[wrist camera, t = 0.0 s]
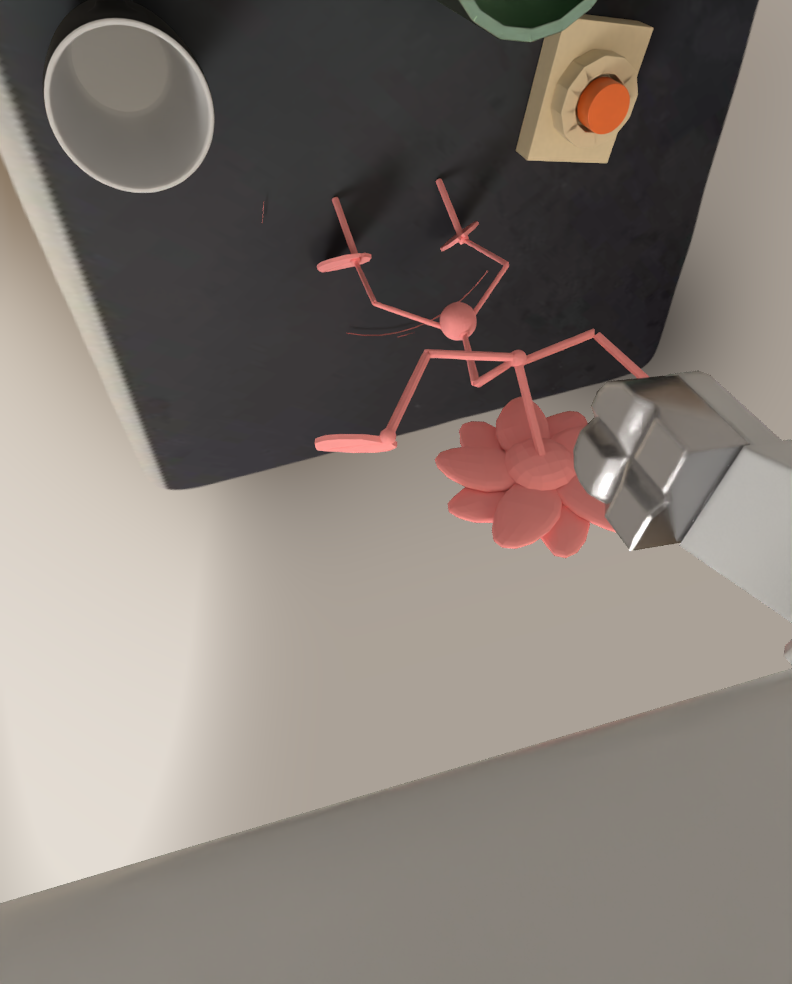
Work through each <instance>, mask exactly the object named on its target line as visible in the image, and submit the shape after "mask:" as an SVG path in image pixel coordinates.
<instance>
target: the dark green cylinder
mask: <svg viewBox="0 0 792 984" xmlns="http://www.w3.org/2000/svg"><path fill="white" fill-rule="evenodd" d="M436 1H438V2H440V3H441V4H443V5H444V6H446V7H448V8H449V9H451V10H453V11H454V12H456V13H457V14H459V15H461V16H462V17H464V18H465V19H467V20H469V21H470V22H472V23H474V24H475V25H477V26H478V27H480V28H482V29H483V30H485V31H487V32H488V33H490V34H491V35H493V36H495V37H496V38H498V39H500V40H509V41H519V42H533V41H536V40H539V39H542V38H545V37H548V36H551V35H554V34H557V33H559V32H562V31H564V30H565V29H566V28H567V27H569V26H570V25H571V24H572V23H574V22H575V21H576V20H577V19H579V18H580V17H581V16H582V15H584V14H585V13H586V12H587V11H589V10H590V9H591V8H592V7H593V6H594V4H595V3H596V1H597V0H436Z"/></svg>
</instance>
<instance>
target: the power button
mask: <svg viewBox="0 0 792 984" xmlns="http://www.w3.org/2000/svg"><path fill="white" fill-rule="evenodd" d="M629 105H630V96H629V92H628V90H627V88H626V87H625V86H624V85H622V84H620V83H619V82H617V81H615V80H613V79H612V78H609V77H600V78H597V79H595V80H594V81H592V82H591V83H590V84H589V85H588V86H587V87H586V88H585V89H584V91H583V92H582V94H581V96H580V98H579V101H578V105H577V115H578V118H579V121H580V122H581V123H582V124H583V125H584V126H585V127H587V128H588V129H590V130H591V131H593V132H594V133H596V134H607V133H610V132H612V131H613V130H615V129H616V128H617V127H618V126H619V125H620V124H621V123H622V121H623V120H624V118H625V117H626V115H627V112H628V109H629Z"/></svg>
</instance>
